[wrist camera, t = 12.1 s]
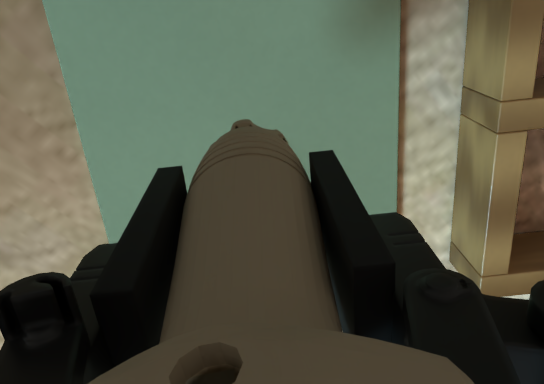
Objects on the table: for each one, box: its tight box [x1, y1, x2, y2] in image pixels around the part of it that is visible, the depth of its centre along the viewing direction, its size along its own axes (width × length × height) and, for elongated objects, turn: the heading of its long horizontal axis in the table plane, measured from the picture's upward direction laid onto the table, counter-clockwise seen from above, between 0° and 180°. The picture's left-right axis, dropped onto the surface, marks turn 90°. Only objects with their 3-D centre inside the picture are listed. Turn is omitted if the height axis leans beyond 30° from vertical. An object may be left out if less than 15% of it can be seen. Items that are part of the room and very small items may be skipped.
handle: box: [88, 119, 474, 384], centre depth 12 cm, size 5×6×15 cm
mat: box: [42, 0, 401, 244], centre depth 24 cm, size 20×17×1 cm
